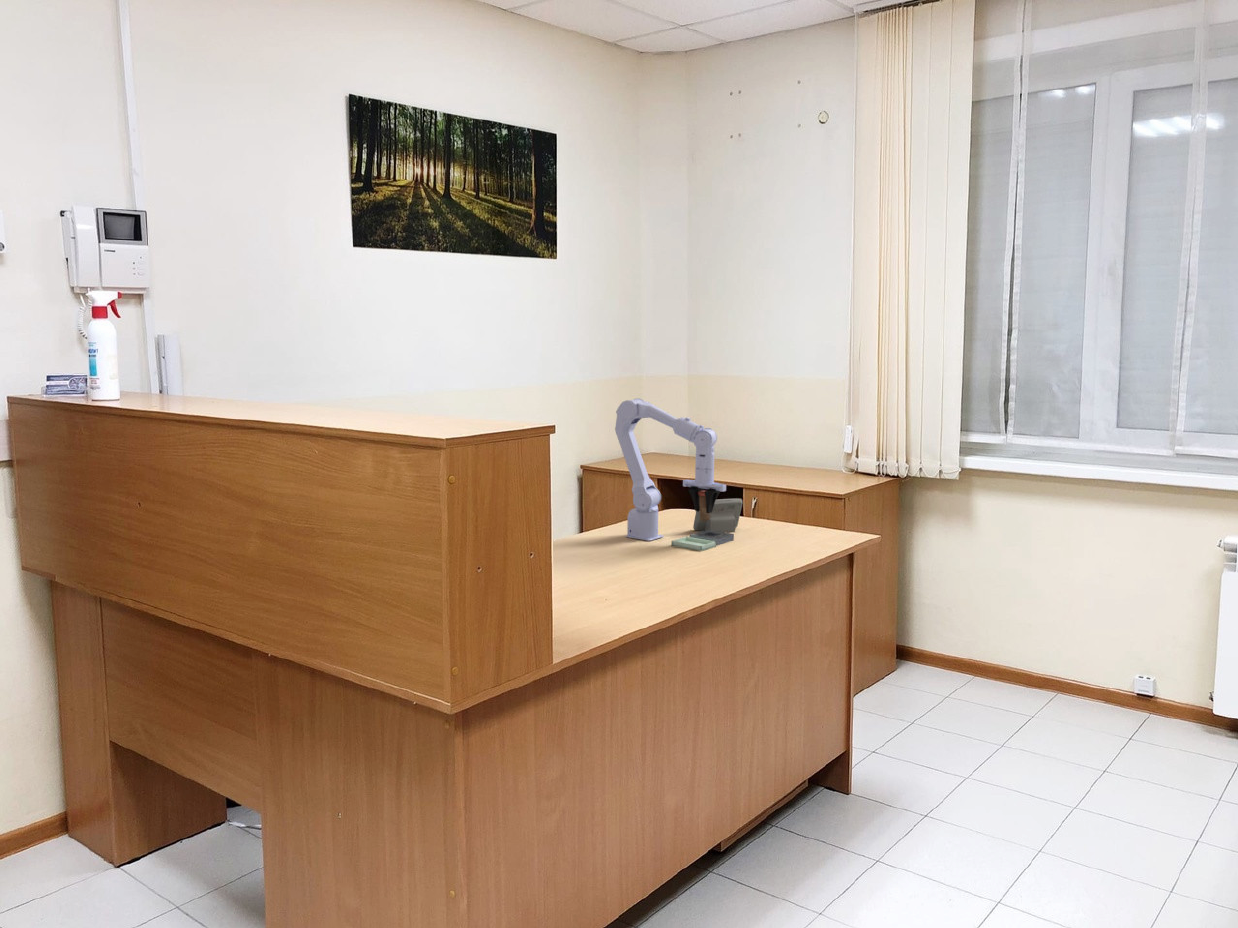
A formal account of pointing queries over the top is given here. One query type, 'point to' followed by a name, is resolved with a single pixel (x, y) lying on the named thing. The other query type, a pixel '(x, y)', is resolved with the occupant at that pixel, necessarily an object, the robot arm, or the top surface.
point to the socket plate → (714, 536)
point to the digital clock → (721, 516)
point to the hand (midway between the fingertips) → (703, 511)
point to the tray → (693, 543)
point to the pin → (703, 507)
